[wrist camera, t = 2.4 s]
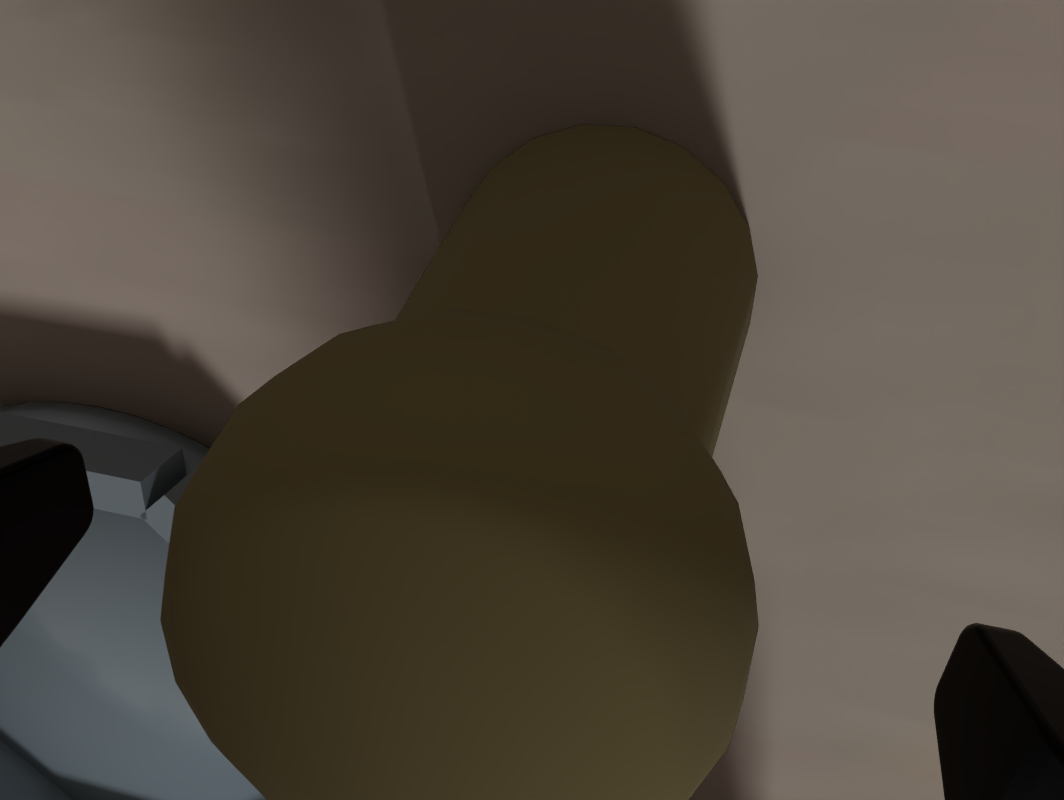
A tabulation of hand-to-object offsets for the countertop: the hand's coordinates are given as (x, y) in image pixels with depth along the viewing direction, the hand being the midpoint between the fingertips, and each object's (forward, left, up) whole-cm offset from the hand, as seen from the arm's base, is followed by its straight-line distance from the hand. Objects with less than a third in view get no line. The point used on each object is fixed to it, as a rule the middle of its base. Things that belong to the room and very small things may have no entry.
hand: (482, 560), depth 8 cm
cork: (0, 0, -9) cm, 9 cm away
